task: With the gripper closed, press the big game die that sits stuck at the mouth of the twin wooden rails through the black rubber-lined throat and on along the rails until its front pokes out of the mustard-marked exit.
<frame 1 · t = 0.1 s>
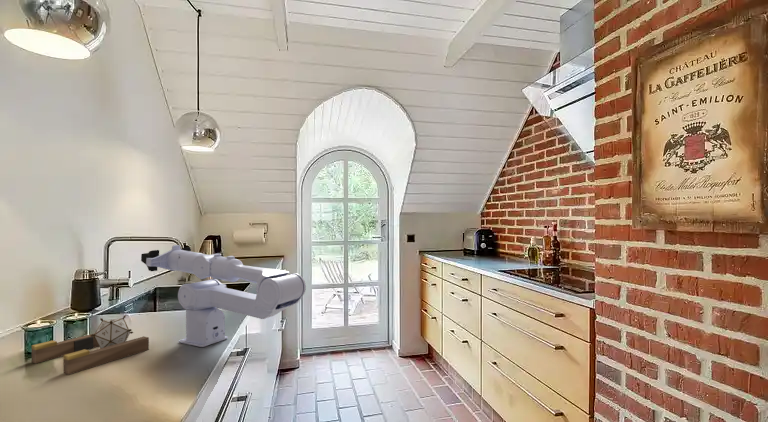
hand: (155, 256, 114), 22 cm above the worktop, tool horizontal, fingers open, 7 cm apart
game die: (112, 350, 98), on the worktop
twin wooden rails: (92, 355, 94), on the worktop
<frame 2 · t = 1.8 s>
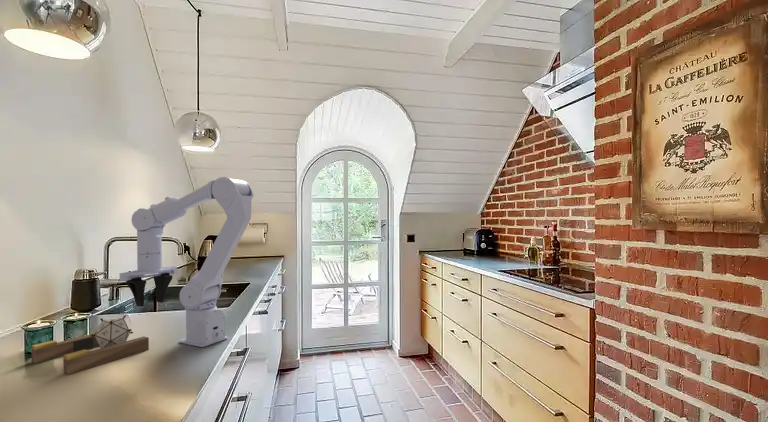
hand: (150, 303, 107), 9 cm above the worktop, tool pointing down, fingers open, 5 cm apart
nothing on the worktop moved.
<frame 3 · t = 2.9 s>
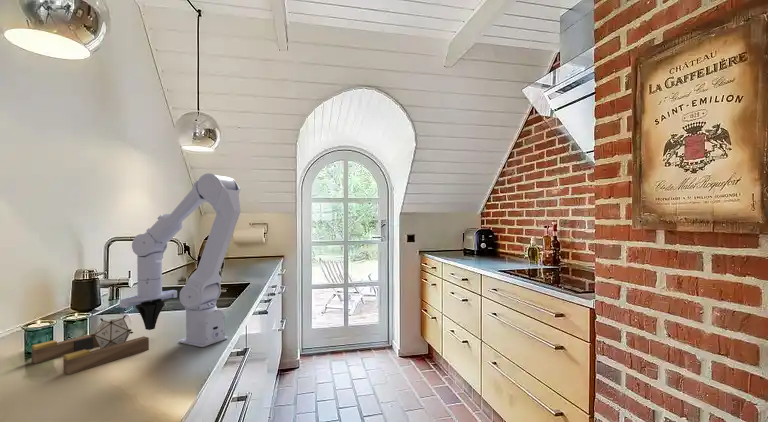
hand: (150, 329, 107), 3 cm above the worktop, tool pointing down, fingers closed
nothing on the worktop moved.
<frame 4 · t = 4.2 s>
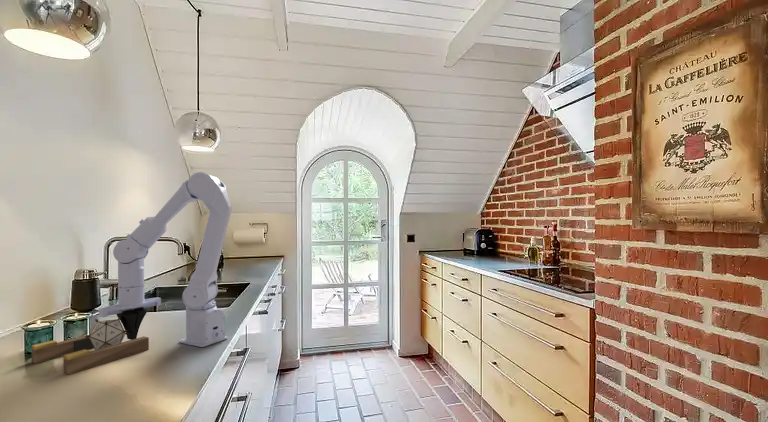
hand: (131, 338, 102), 1 cm above the worktop, tool pointing down, fingers closed
game die: (107, 352, 97), on the worktop, touching gripper
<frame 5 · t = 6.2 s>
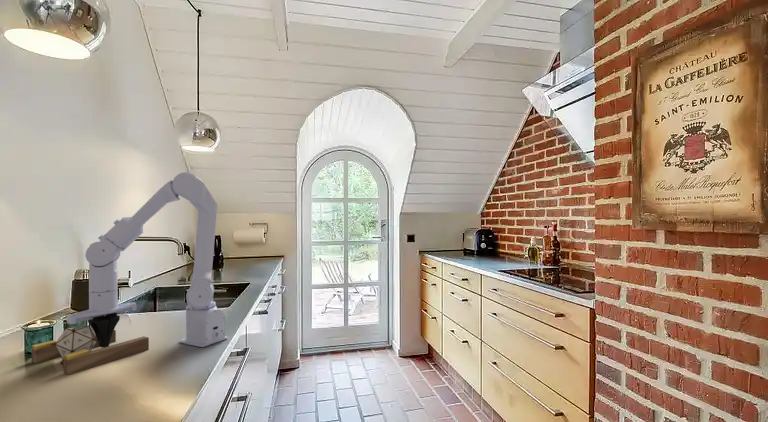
hand: (104, 346, 97), 1 cm above the worktop, tool pointing down, fingers closed
game die: (76, 360, 92), on the worktop, touching gripper
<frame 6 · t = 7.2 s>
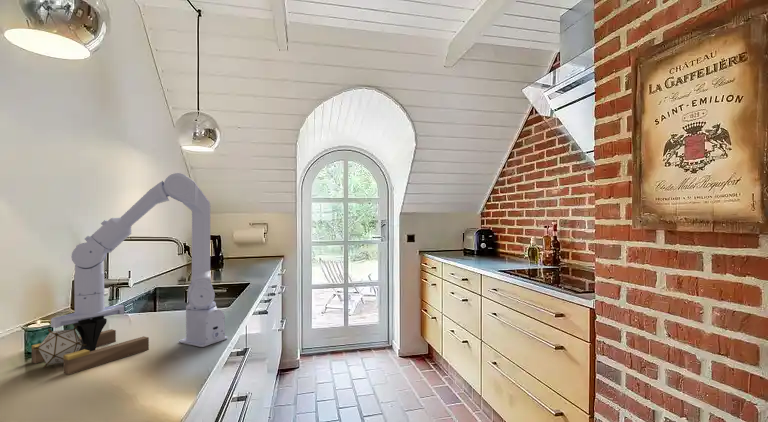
hand: (90, 350, 94), 1 cm above the worktop, tool pointing down, fingers closed
game die: (60, 365, 89), on the worktop, touching gripper
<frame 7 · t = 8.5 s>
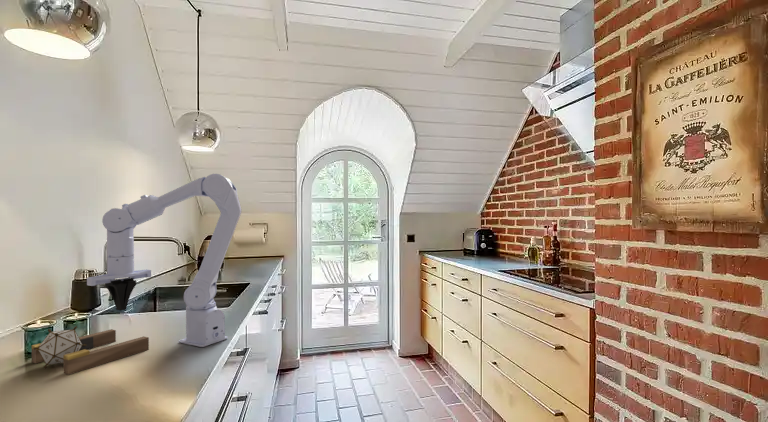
hand: (121, 309, 101), 9 cm above the worktop, tool pointing down, fingers closed
game die: (60, 365, 89), on the worktop
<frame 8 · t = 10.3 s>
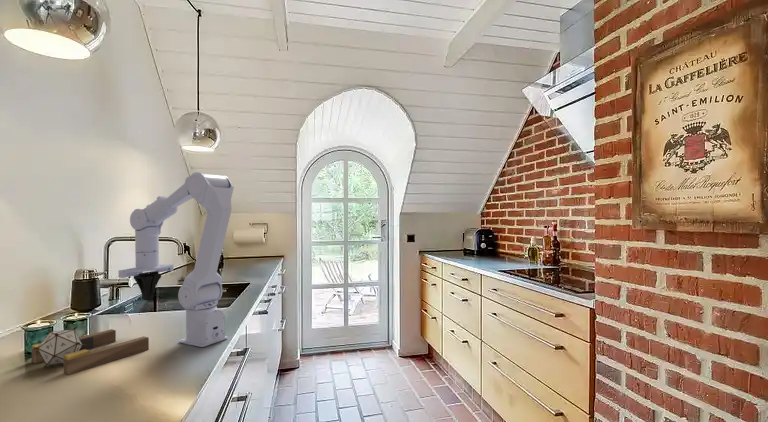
hand: (147, 299, 112), 9 cm above the worktop, tool pointing down, fingers closed
nothing on the worktop moved.
at the end: game die inside the target area (0.9 cm from its centre), on the worktop; game die moved 10.7 cm from its start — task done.
